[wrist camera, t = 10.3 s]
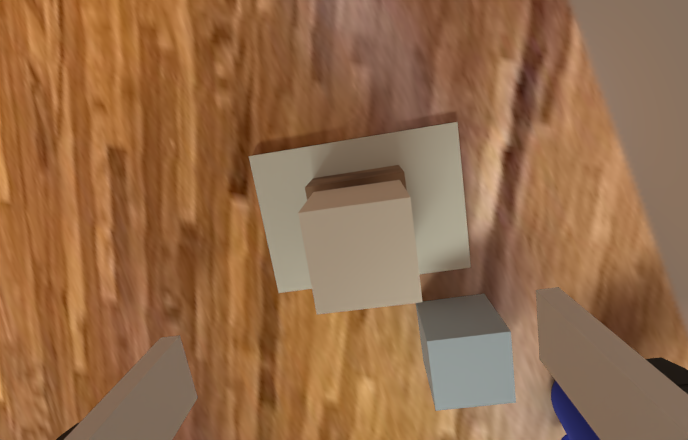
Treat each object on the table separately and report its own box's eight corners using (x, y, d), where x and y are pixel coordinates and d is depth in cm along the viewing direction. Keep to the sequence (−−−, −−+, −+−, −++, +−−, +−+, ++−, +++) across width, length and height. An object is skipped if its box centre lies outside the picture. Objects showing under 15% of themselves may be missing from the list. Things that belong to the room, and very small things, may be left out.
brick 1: (327, 272, 31) (316, 314, 24) (313, 191, 29) (298, 212, 23) (409, 261, 30) (422, 302, 23) (399, 179, 29) (410, 197, 22)
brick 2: (423, 360, 39) (435, 410, 32) (415, 301, 38) (426, 341, 31) (489, 353, 39) (515, 402, 32) (484, 293, 37) (510, 331, 30)
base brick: (327, 258, 36) (322, 279, 31) (313, 178, 34) (304, 187, 29) (409, 247, 35) (416, 266, 30) (398, 164, 33) (404, 171, 29)
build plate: (280, 288, 38) (278, 293, 37) (251, 155, 35) (248, 156, 34) (468, 263, 36) (471, 267, 35) (454, 122, 33) (457, 121, 32)
